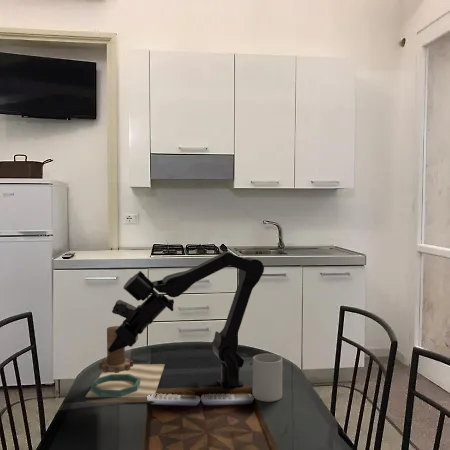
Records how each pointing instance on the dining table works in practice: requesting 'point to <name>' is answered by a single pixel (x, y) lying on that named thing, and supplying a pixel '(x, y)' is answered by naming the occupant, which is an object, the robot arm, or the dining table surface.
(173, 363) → the dining table surface
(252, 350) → the dining table surface
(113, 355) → the gear
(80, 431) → the dining table surface
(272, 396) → the mug
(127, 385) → the gear board
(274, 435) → the dining table surface
